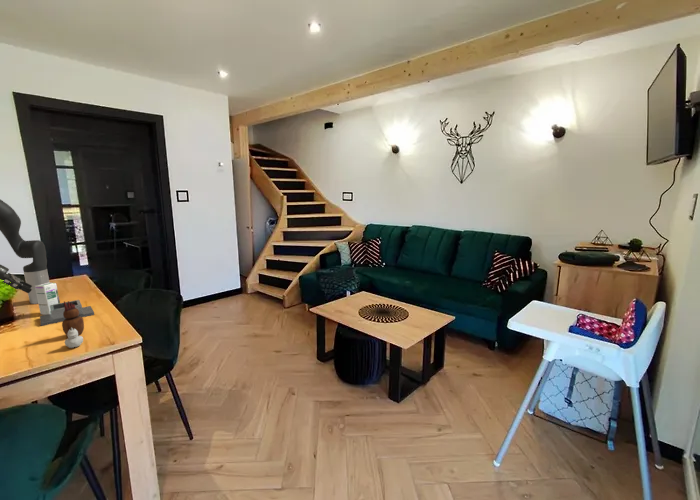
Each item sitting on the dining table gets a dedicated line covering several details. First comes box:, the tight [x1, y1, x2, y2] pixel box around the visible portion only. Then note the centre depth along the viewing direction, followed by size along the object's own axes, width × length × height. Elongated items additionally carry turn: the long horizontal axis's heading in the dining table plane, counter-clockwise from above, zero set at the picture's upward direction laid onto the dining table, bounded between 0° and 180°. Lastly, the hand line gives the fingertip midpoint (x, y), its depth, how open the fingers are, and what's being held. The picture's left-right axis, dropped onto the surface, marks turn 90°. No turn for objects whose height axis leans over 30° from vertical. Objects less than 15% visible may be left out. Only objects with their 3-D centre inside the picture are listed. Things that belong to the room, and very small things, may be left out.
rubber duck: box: [64, 327, 84, 349], centre depth 128 cm, size 5×7×8 cm
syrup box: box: [35, 282, 61, 315], centre depth 164 cm, size 6×6×14 cm
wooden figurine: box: [61, 301, 85, 337], centre depth 137 cm, size 7×6×15 cm
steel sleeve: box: [39, 299, 95, 327], centre depth 159 cm, size 13×19×6 cm
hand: (30, 289), depth 159 cm, fingers open, 8 cm apart
